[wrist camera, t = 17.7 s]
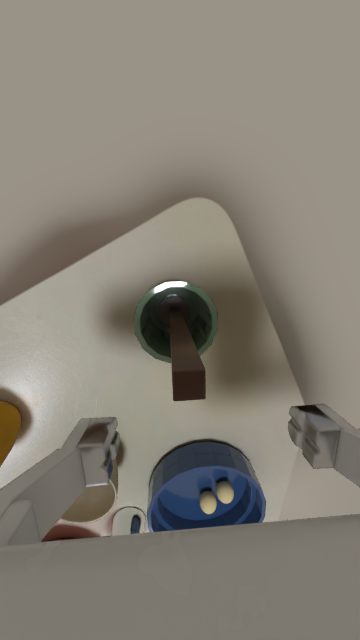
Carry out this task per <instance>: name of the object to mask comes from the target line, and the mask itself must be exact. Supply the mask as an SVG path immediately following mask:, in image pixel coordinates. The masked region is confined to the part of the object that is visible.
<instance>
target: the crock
mask: <svg viewBox="0 0 360 640" xmlns="http://www.w3.org/2000/svg"><path fill="white" fill-rule="evenodd" d="M169 295H179V296H181V297H183V298H184V299H185V300H186V301H187V303H188V304H189V306H190V310H191V314H190V318H189V320H188V322H187V323H186V325H187V327H188V329H189V332H190V334H191V337H192V339H193V342H194V344H195V346H196V349H197V351H198V354H199V356H200V355H202V354H203V353H204V352H205V351H206V350H207V349H208V347H209V346H210V345H211V344H212V342H213V340H214V337H215V335H216V333H217V329H218V313H217V311H216V309H215V306H214V304H213V301H212V299H211V298H210V297H209V296H208V295H207V294H206V293H205V292H204V291H203V290H202V289H201V288H200V287H198V286H195V285H192V284H190V283H187V282H185V281H179V280H173V281H165V282H163V283H161V284H159V285H156V286H155V287H153V288H151V289H150V290H149V291H148V292H147V293H146V294H145V296H144V297H143V298H142V299H141V300H140V301H139V303H138V306H137V309H136V312H135V315H134V328H135V335H136V337H137V339H138V341H139V342H140V344H141V346H142V348H143V349H144V350H145V351H147V352H148V353H149V354H150V355H151V356H153V357H154V358H156V359H159V360H162V361H165V362H168V363H171V342H170V328H169V327H167V326H165V325H164V324H163V323H162V322H161V321H160V319H159V317H158V308H159V305H160V302H161V301H162V300H163V299H164V298H165V297H166V296H169Z"/></svg>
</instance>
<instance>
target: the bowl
mask: <svg viewBox="0 0 360 640" xmlns="http://www.w3.org/2000/svg"><path fill="white" fill-rule="evenodd" d="M221 481H227V482H228V483H230V484H231V486H232V488H233V491H234V497H233V500H232V501H231V502H230V503H228V504H225V503H222V502H221V501H220V500H219V498H218V496H217V493H216V488H217V485H218V483H219V482H221ZM204 491H210V492H212V493H213V494H214V496H215V498H216V502H217V505H216V509H215V511H214V512H213V513H212V514H206V513H205V512H203V510H202V509H201V507H200V496H201V494H202V493H203V492H204ZM265 510H266V500H265V497H264V494H263V491H262V488H261V486H260V484H259V482H258V479H257V477H256V475H255V473H254V470H253V468H252V466H251V464H250V462H249V461H248V460H247V459H246V458H245V456H244V455H243V454H242V453H241V452H239V451H237V450H236V449H234V448H232V447H230V446H228V445H225V444H220V443H215V442H201V443H193V444H190V445H187V446H184V447H181V448H179V449H176V450H175V451H174V452H172V453H171V454H169V455H168V456H167V457H165V458H164V459H163V460H162V461H161V462H160V464H159V465H158V466H157V468H156V469H155V470H154V472H153V475H152V478H151V482H150V485H149V496H148V508H147V520H148V528H149V530H150V532H160V531H172V530H183V529H194V528H206V527H217V526H228V525H240V524H251V523H262V521H263V519H264V517H265Z"/></svg>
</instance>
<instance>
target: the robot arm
mask: <svg viewBox="0 0 360 640" xmlns="http://www.w3.org/2000/svg"><path fill="white" fill-rule="evenodd" d="M289 415H290V416H291V417H292V418H291V420H290V421H289V422H288V431H289V435H290V437H291V439H292V441H293V442H294V444H295V445H296V446H298V447H299V448H301V449H302V451H303V452H302V454H303V455H304V457H305V458H306V459H307V461H308V462H309V463H310V465H311V466H312V467H313V469H320V468H334V469H335V470H336V471H338V472H339V473H341V474H342V475H343V476H345V477H346V478H347V479H349V480H350V481H352V482H353V483H354V484H356V485H357V486H359V487H360V429H356V428H355V427H354V426H352V425H351V424H350V423H348V422H347V421H346V420H345V419H343V418H342V417H341V416H340V415H338V414H337V413H336V412H335V411H333V410H332V409H331V408H330V407H328V406H327V405H325V404H313V405H304V406H291V408H290V411H289ZM117 425H118V423H117V418H116V417H101V418H82V419H81V420H80V421H79V422H78V424H77V425H76V427H75V428H74V430H73V431H72V433H71V434H70V436H69V437H68V439H67V441H66V442H65V444H64V445H63V447H62V448H61V449H57V450H55V451H54V452H53V453H51V454H50V455H48V456H47V457H45V458H44V459H43V460H41V461H40V462H38V463H37V464H35V465H34V466H33V467H31V468H30V469H28V470H27V471H26V472H24V473H23V474H21V475H20V476H18V477H17V478H16V479H14V480H13V481H11V482H10V483H8V484H7V485H6V486H4V487H3V488H1V489H0V640H360V514H353V515H341V516H330V517H319V518H307V519H297V520H286V521H274V522H262V523H251V524H240V525H228V526H217V527H206V528H194V529H183V530H172V531H160V532H149V533H138V534H126V535H115V536H104V537H93V538H81V539H70V540H59V541H47V542H42V541H41V540H42V539H43V538H44V537H45V535H46V534H47V533H48V532H49V531H50V530H51V528H52V527H53V526H54V525H55V524H56V523H57V521H58V520H59V519H60V518H61V517H62V516H63V514H64V513H65V512H66V511H67V510H68V509H69V507H70V506H71V505H72V504H73V503H74V502H75V500H76V499H77V498H78V497H79V496H80V495H81V493H82V492H83V491H84V490H85V489H86V487H90V486H99V485H108V483H109V480H110V477H111V474H112V470H113V461H114V460H115V459H116V457H117V453H118V448H119V433H118V432H117V431H116V428H117Z"/></svg>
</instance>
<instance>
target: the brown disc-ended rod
mask: <svg viewBox="0 0 360 640" xmlns="http://www.w3.org/2000/svg"><path fill="white" fill-rule="evenodd" d="M190 314H191V310H190V306H189V304H188V303H187V301H186V300H185V299H184V298H183V297H181V296H179V295H169V296H166V297H165V298H164V299H163V300H162V301H161V302H160V305H159V308H158V317H159V319H160V321H161V322H162V323H163V324H164V325H165V326H167V327H169V328H170V342H171V363H172V384H173V400H174V401H185V400H200V399H205V398H206V381H205V368H204V366H203V363H202V361H201V358H200V356H199V354H198V351H197V349H196V346H195V344H194V342H193V339H192V337H191V334H190V332H189V329H188V327H187V325H186V323H187V322H188V320H189V318H190Z"/></svg>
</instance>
